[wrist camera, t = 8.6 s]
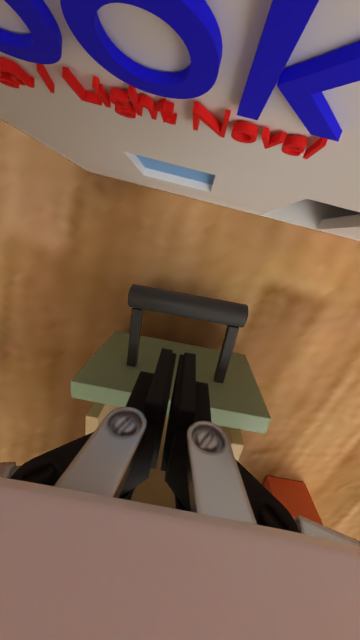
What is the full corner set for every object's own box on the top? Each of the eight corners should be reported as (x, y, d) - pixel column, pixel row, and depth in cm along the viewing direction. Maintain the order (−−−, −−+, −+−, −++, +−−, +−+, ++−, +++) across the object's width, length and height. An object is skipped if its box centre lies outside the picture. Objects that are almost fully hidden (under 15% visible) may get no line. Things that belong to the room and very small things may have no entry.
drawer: (119, 267, 18) (69, 286, 11) (264, 294, 18) (307, 330, 11) (106, 443, 24) (71, 524, 18) (211, 462, 24) (217, 552, 17)
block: (291, 506, 27) (308, 554, 23) (255, 499, 27) (266, 546, 23) (304, 482, 26) (325, 529, 22) (266, 475, 26) (280, 520, 22)
